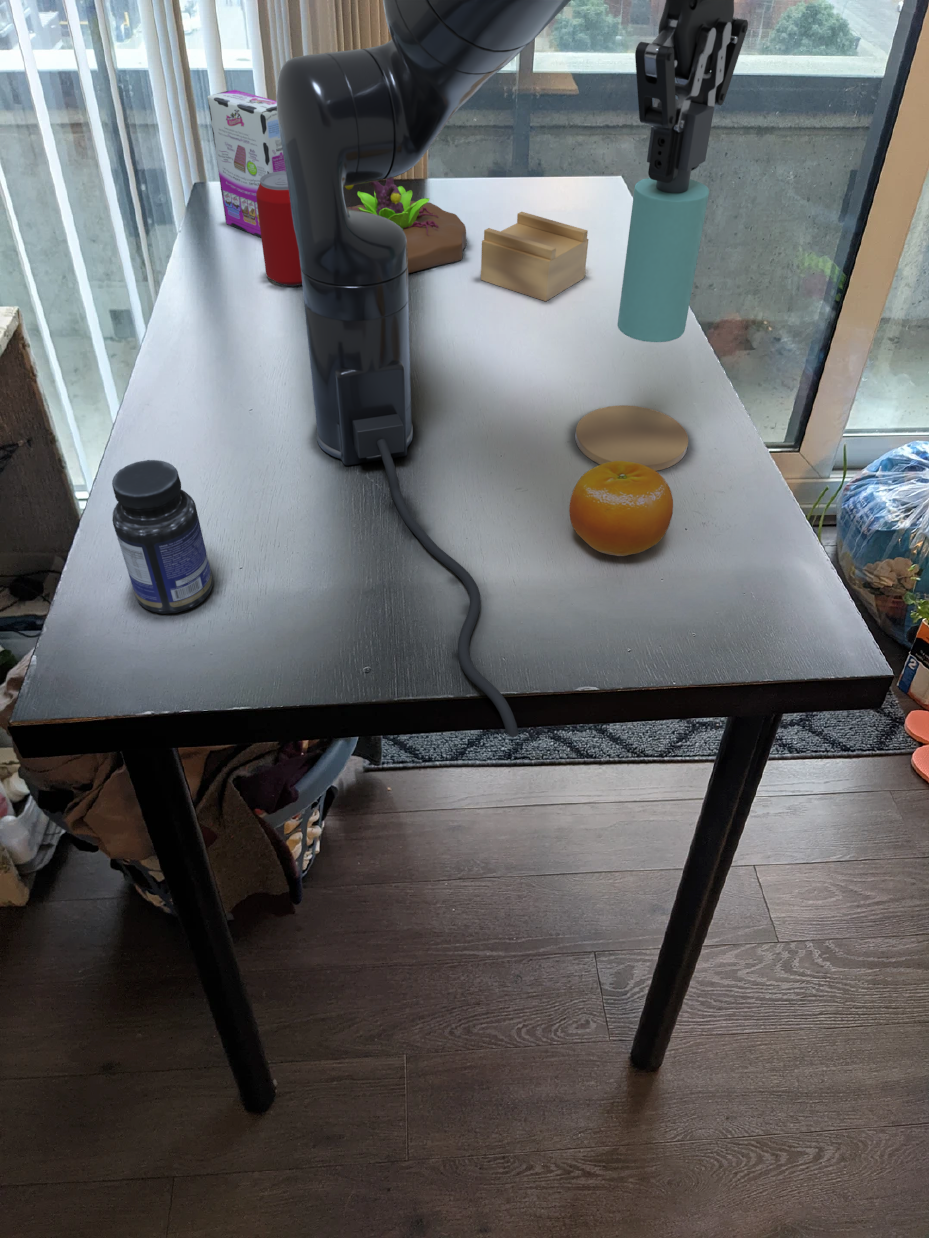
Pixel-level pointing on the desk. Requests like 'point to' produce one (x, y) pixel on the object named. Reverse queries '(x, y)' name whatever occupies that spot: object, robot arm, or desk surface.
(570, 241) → the cradle
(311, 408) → the desk surface
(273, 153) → the candy bar box
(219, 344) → the desk surface
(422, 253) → the plant
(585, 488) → the fruit
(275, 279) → the beverage can
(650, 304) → the teal cylinder
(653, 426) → the coaster
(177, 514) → the pill bottle
